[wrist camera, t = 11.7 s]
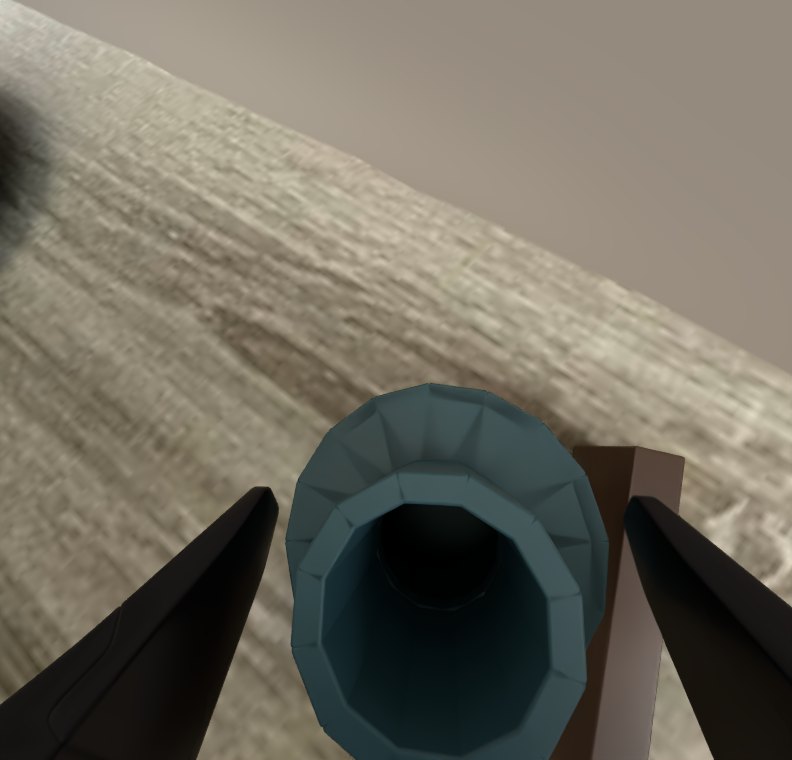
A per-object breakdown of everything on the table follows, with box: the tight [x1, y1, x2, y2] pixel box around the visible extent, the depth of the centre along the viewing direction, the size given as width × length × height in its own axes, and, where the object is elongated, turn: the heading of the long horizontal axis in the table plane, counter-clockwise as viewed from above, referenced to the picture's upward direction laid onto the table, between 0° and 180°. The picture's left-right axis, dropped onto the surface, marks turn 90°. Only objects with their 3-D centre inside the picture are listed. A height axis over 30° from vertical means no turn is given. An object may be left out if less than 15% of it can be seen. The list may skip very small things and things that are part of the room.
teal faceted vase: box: [285, 383, 609, 760], centre depth 11 cm, size 7×7×14 cm
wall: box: [549, 446, 685, 760], centre depth 12 cm, size 19×2×6 cm, turn 166°
